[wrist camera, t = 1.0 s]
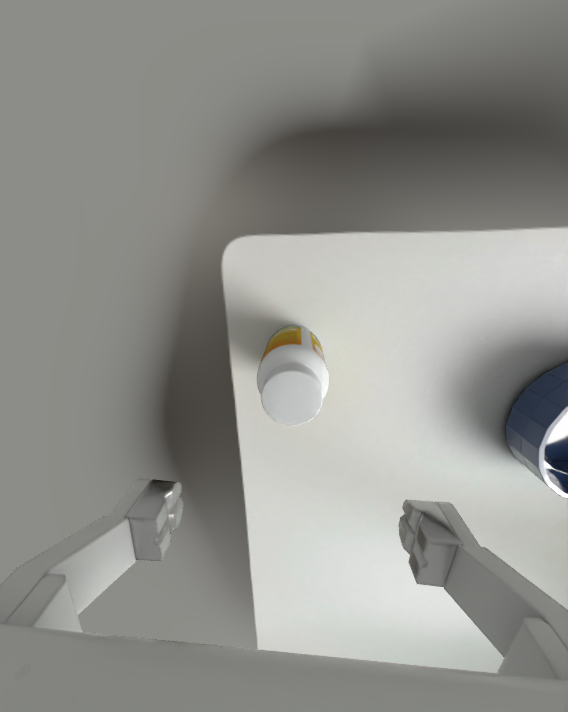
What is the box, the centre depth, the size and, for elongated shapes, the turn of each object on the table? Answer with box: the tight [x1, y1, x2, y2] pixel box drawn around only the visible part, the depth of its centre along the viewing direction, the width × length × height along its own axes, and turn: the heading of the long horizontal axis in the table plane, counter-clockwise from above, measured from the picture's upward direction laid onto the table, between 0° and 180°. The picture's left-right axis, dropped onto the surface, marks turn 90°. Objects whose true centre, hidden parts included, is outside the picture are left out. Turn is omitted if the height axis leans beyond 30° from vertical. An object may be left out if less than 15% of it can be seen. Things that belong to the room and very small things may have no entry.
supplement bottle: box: [257, 326, 329, 425], centre depth 22 cm, size 5×5×10 cm
